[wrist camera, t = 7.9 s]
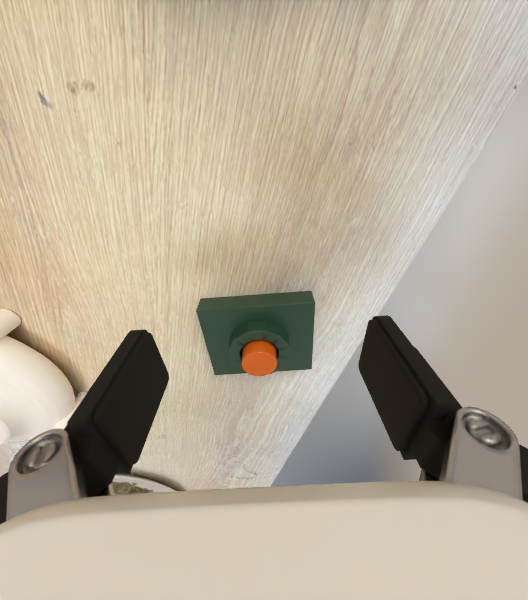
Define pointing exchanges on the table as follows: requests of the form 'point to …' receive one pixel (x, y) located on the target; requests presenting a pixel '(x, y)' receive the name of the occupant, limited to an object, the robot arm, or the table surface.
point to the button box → (258, 328)
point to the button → (259, 358)
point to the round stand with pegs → (30, 389)
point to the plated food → (136, 485)
